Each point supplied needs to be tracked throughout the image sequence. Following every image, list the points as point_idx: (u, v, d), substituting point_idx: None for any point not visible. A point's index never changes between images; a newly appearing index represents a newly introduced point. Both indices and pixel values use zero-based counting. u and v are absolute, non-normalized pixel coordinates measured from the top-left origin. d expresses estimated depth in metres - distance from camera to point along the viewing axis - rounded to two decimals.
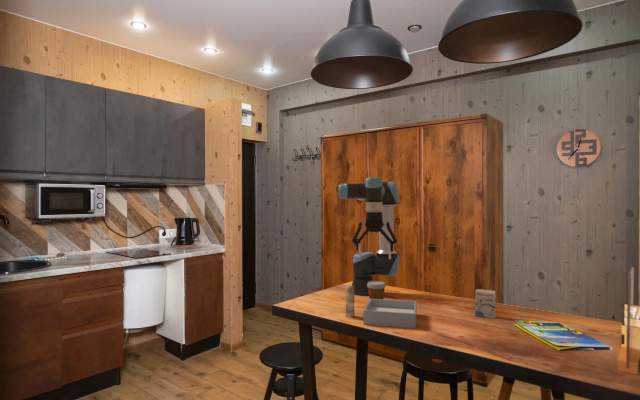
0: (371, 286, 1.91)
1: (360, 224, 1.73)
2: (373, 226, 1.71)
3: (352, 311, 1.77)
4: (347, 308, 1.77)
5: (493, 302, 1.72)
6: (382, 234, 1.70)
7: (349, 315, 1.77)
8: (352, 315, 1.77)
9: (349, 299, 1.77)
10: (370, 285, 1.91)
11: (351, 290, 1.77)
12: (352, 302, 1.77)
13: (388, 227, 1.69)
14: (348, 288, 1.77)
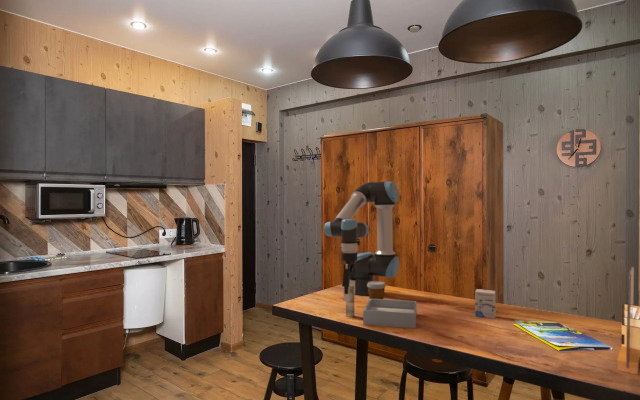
0: (371, 286, 1.91)
1: None
2: None
3: (352, 311, 1.77)
4: (347, 308, 1.77)
5: (493, 302, 1.72)
6: None
7: (349, 315, 1.77)
8: (352, 315, 1.77)
9: None
10: (370, 285, 1.91)
11: (351, 290, 1.77)
12: (352, 302, 1.77)
13: (344, 269, 1.73)
14: None
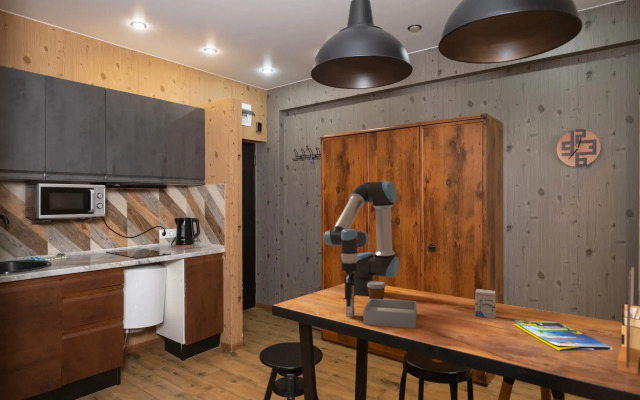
0: (371, 286, 1.91)
1: None
2: None
3: (352, 311, 1.77)
4: None
5: (493, 302, 1.72)
6: None
7: (349, 315, 1.77)
8: (352, 315, 1.77)
9: None
10: (370, 285, 1.91)
11: None
12: (352, 302, 1.77)
13: None
14: None
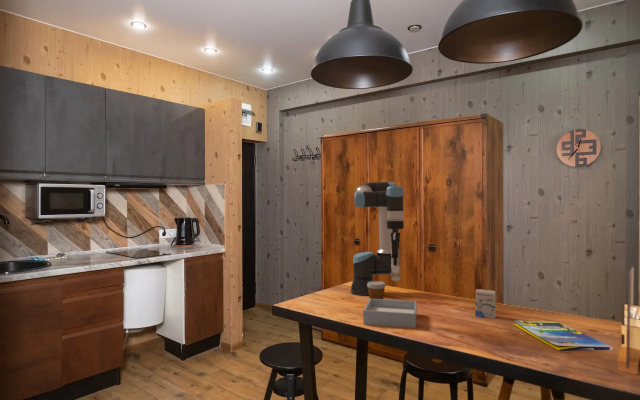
0: (371, 286, 1.91)
1: None
2: None
3: (398, 275, 1.71)
4: None
5: (493, 302, 1.72)
6: None
7: (395, 279, 1.71)
8: (398, 279, 1.71)
9: None
10: (370, 285, 1.91)
11: None
12: None
13: (391, 240, 1.68)
14: None
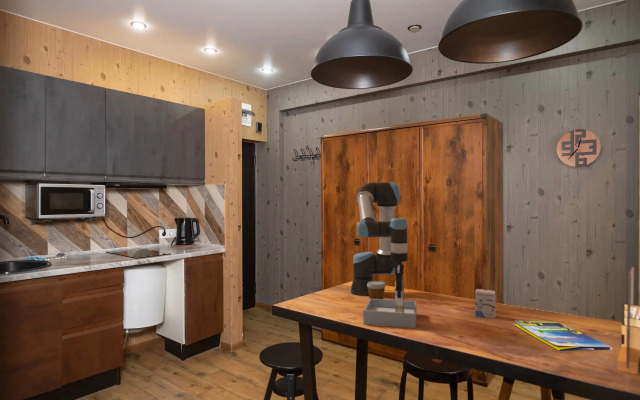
0: (371, 286, 1.91)
1: None
2: None
3: (402, 307, 1.71)
4: None
5: (493, 302, 1.72)
6: None
7: (399, 311, 1.71)
8: (402, 311, 1.71)
9: None
10: (370, 285, 1.91)
11: None
12: None
13: (395, 273, 1.68)
14: None
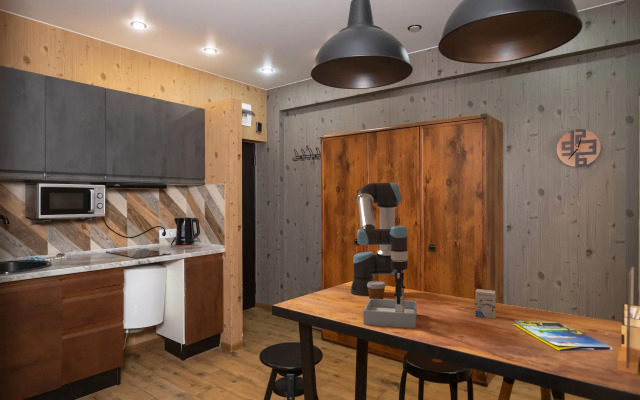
0: (371, 286, 1.91)
1: None
2: None
3: None
4: (397, 311, 1.71)
5: (493, 302, 1.72)
6: None
7: None
8: None
9: None
10: (370, 285, 1.91)
11: (402, 293, 1.71)
12: (402, 305, 1.71)
13: (395, 278, 1.67)
14: None
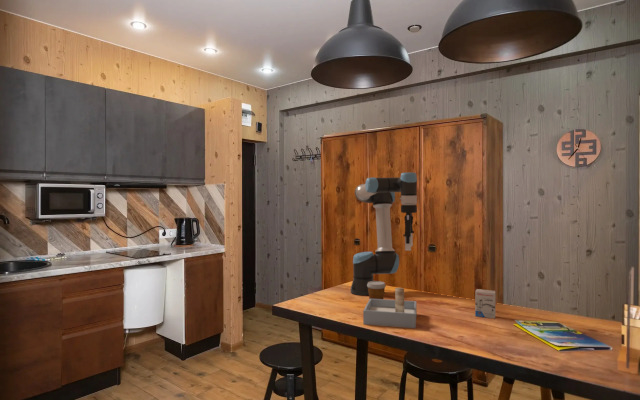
0: (371, 286, 1.91)
1: None
2: None
3: None
4: (397, 311, 1.71)
5: (493, 302, 1.72)
6: None
7: None
8: None
9: (400, 302, 1.70)
10: (370, 285, 1.91)
11: (402, 293, 1.71)
12: (402, 305, 1.71)
13: (405, 220, 1.77)
14: (398, 291, 1.71)
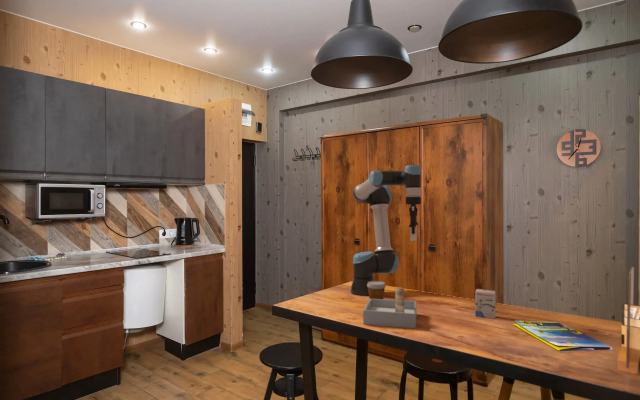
0: (371, 286, 1.91)
1: None
2: None
3: None
4: (397, 311, 1.71)
5: (493, 302, 1.72)
6: None
7: None
8: None
9: (400, 302, 1.70)
10: (370, 285, 1.91)
11: (402, 293, 1.71)
12: (402, 305, 1.71)
13: (410, 211, 1.82)
14: (398, 291, 1.71)
